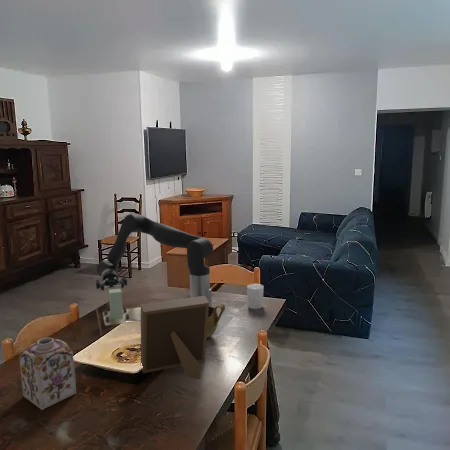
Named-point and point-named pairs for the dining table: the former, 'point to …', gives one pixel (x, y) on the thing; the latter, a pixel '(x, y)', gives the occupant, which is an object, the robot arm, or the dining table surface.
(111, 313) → the green block
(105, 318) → the peg board
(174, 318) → the photo frame
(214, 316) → the ceramic bowl
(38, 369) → the decorative jar
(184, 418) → the dining table surface
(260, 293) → the white cup
